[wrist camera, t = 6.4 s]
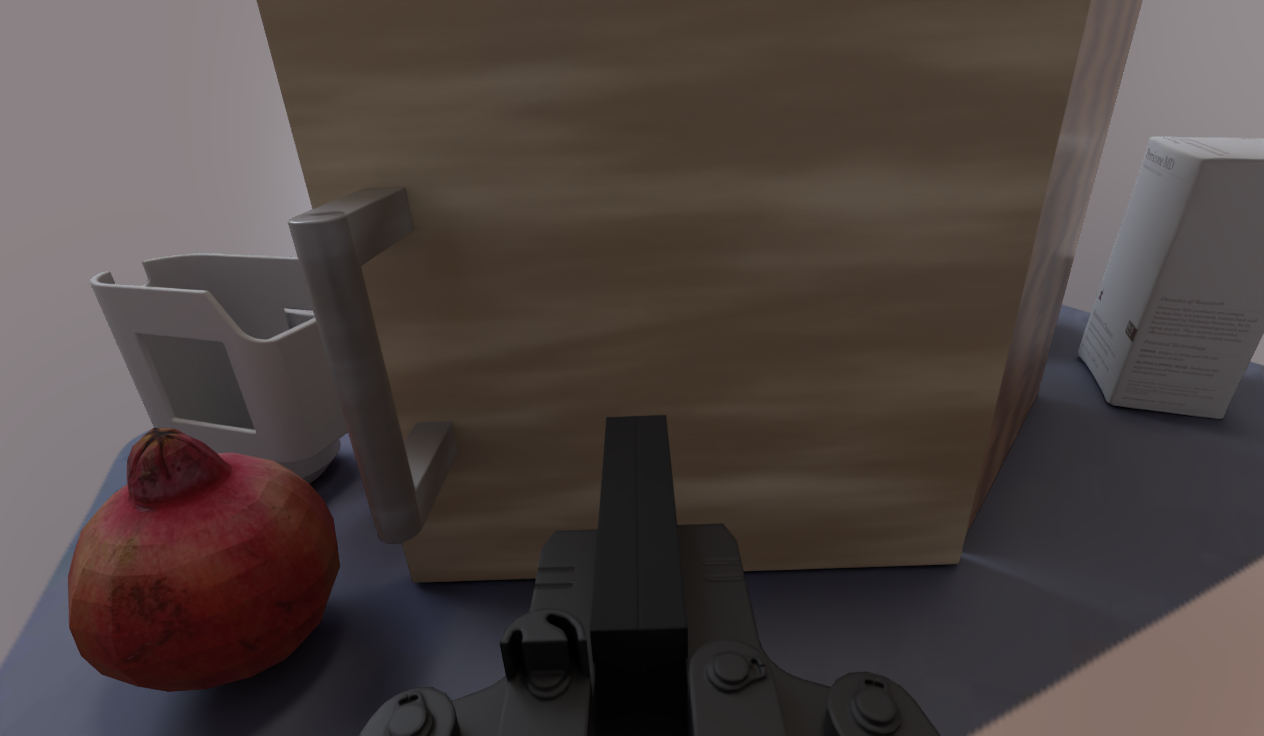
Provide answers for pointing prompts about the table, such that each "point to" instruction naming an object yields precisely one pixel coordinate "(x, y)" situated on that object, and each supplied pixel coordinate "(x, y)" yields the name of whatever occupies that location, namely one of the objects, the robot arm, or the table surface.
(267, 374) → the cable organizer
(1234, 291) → the cosmetic box
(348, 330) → the cupboard door
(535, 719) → the robot arm
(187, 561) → the fruit
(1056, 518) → the table surface
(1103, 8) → the cupboard
